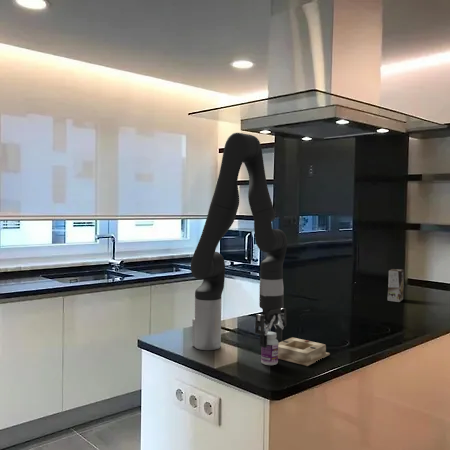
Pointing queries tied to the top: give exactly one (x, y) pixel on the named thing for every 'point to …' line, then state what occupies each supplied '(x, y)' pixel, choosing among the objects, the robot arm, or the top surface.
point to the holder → (301, 351)
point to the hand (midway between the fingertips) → (271, 343)
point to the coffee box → (395, 285)
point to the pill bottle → (270, 350)
